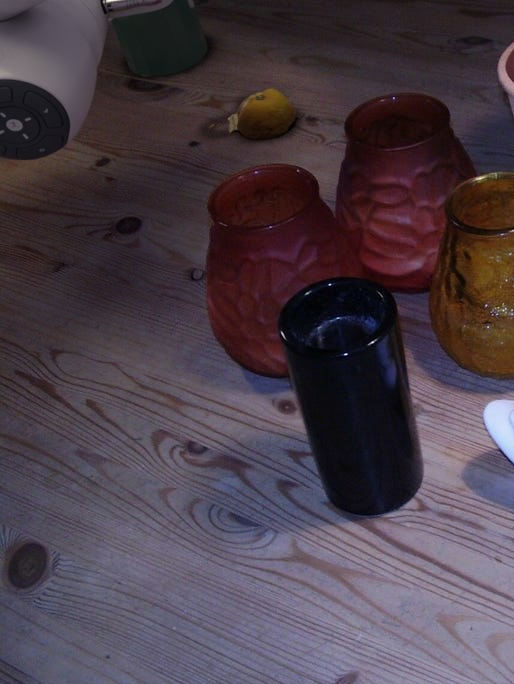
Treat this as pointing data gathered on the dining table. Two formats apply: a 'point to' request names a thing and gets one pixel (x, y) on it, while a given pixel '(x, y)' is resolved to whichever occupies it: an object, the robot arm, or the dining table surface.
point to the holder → (162, 39)
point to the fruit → (263, 115)
